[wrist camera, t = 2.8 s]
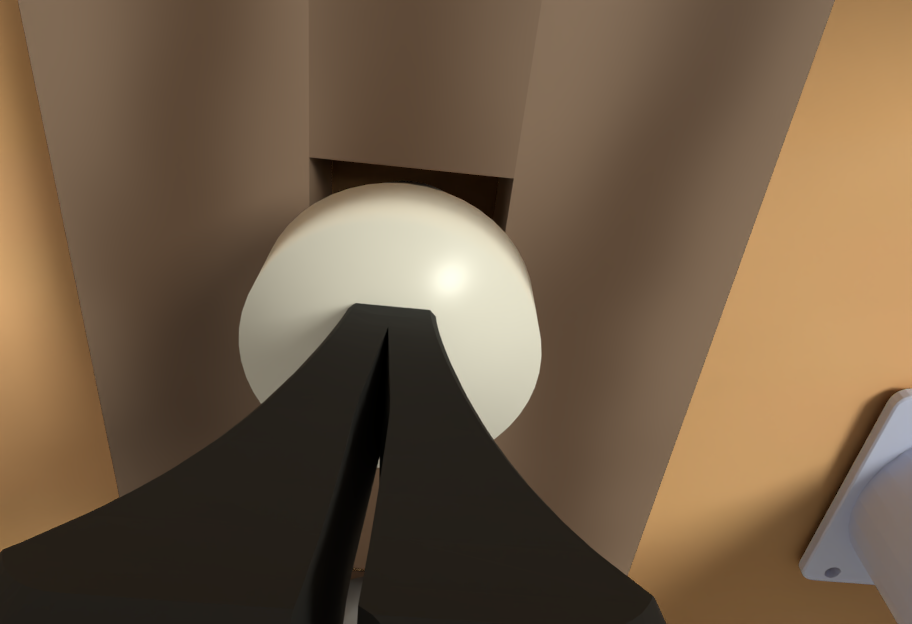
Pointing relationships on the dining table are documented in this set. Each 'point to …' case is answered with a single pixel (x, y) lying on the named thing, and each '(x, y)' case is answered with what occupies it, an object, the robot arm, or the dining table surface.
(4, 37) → the dining table surface
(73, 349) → the dining table surface
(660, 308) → the console
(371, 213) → the button
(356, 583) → the button
